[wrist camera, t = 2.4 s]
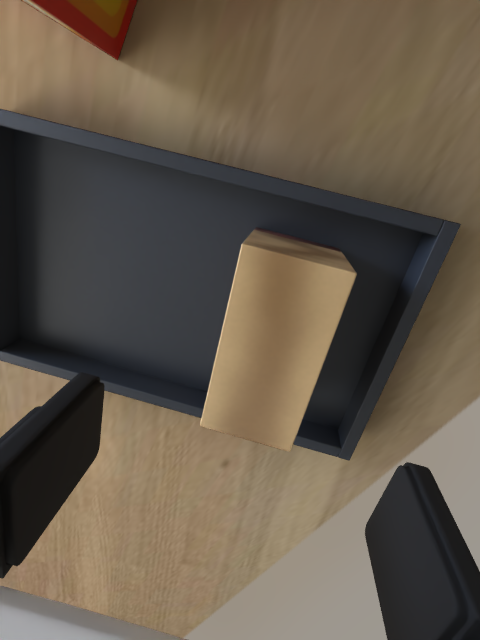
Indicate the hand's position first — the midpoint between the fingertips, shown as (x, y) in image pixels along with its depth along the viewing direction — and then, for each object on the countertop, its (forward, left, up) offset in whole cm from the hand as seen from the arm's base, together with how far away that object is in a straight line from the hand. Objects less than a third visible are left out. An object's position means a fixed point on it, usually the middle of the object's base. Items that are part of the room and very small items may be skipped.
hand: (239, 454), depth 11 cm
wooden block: (0, 0, -12) cm, 12 cm away
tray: (+5, 0, -13) cm, 14 cm away
